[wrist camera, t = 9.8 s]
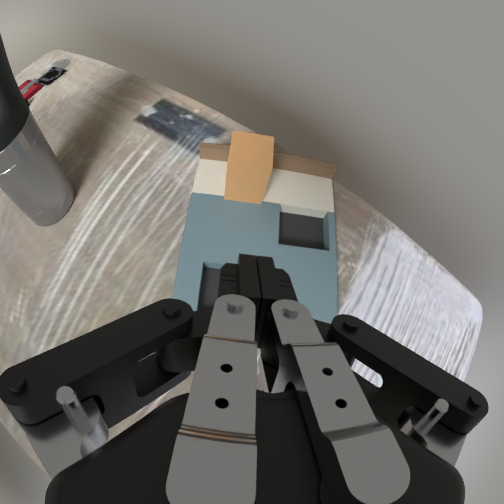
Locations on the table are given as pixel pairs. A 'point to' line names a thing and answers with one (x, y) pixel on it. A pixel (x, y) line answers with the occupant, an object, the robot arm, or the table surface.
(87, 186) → the table surface
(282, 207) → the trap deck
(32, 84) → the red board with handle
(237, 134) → the orange block
